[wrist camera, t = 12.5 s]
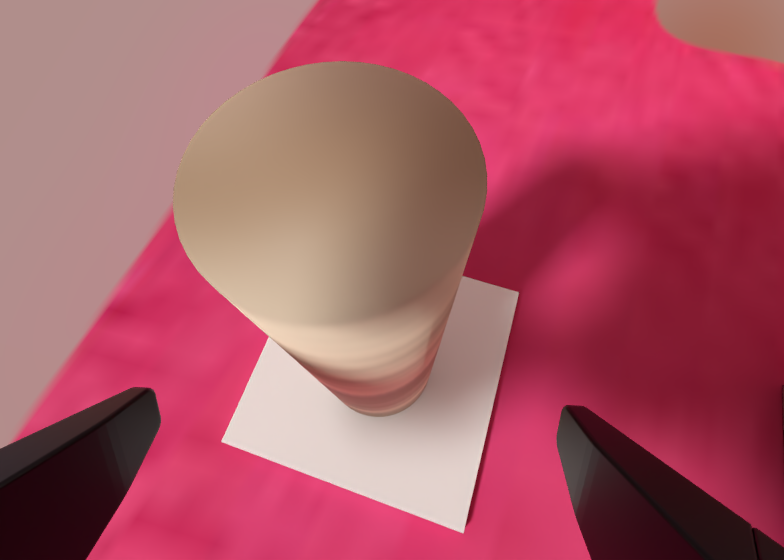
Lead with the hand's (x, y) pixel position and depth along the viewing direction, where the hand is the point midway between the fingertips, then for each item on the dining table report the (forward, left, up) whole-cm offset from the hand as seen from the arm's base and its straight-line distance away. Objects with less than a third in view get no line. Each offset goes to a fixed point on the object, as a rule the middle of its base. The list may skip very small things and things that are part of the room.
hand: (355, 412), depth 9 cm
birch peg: (+3, +1, -8) cm, 9 cm away
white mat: (+3, +1, -9) cm, 9 cm away
